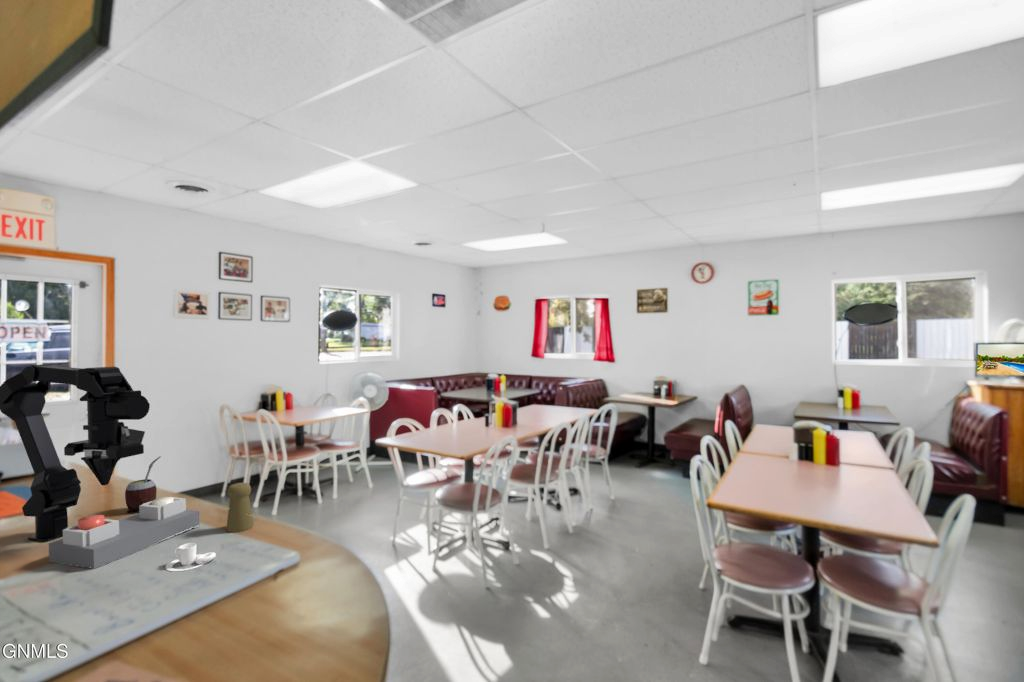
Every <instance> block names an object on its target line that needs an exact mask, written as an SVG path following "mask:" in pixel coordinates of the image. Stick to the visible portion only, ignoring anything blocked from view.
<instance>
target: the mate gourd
mask: <svg viewBox="0 0 1024 682" xmlns="http://www.w3.org/2000/svg"><path fill="white" fill-rule="evenodd" d="M160 458H161V455H160V456H158V457H157V458H155V459H154V460H153V461H152V462H151V463H150V464H149V466H148V469H147V472H146V474H145V478H144V479H138V480H137V479H136V480H133V481H132V482H129V483H128V484H127V485H126V487H125V490H124V491H125V492H124V496H125V497H124V498H125V499H124V500H125V504H126V507H127V511H126V512H127V514H130V513H135V512H139V506H140V505H142V504H144V503H147V502H150V501H153V500H155V499H157V493H158V492H157V491H158V490H157V485H156V483H155V482H154V480H152V479H151V478H149V477H150V476H149V475H150V473H151V470H152V468H153V466H154V464H155V463H156V462H157V461H158V460H159V459H160Z"/></svg>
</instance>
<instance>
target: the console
mask: <svg viewBox="0 0 1024 682" xmlns="http://www.w3.org/2000/svg"><path fill="white" fill-rule="evenodd" d="M172 497H173V498H174V502H171V503H168V504H165V505H162V506H155V505H152V501H150V502H147V503H144V504H142V505H140V506H139V511H138V513H135V514H131V515H128V516H126V517H123V518H120V519H110V518H104V524H105V525H102V526H99V527H96V528H93V529H90V530H87V531H85V530H78V523H77V524H75V525H71V526H68V528H67V529H64V530H63V536H62V538H59V539H56V540H53V541H49V542H48V562H51V563H58V564H62V563H64V564H63V565H68V564H72V565H71V566H74V565H78V566H77V567H79V566H83V567H82V568H85V567H89V568H88V569H91V568H95V569H97V567H98V568H100V567H102V565H103V566H105V565H107V563H108V564H110V563H113V562H115V561H117V559H118V560H120V559H123V558H125V557H127V556H131V555H133V554H136V553H137V552H140V551H142V550H145V549H147V547H148V546H150V545H153V544H155V543H157V542H159V541H161V540H163V539H165V538H167V537H169V536H172V535H175V534H176V533H179V532H181V531H184V530H186V529H189V528H191V527H195V526H197V525H199V526H200V510H195V509H187V501H186V500H187V499H186V498H185V497H178V496H177V497H176V496H175V497H174V496H172ZM155 545H156V544H155ZM153 546H154V545H153ZM150 547H151V546H150ZM148 548H149V547H148ZM112 561H113V562H112ZM109 562H110V563H109ZM99 566H100V567H99ZM90 567H91V568H90Z"/></svg>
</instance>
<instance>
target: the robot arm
mask: <svg viewBox="0 0 1024 682" xmlns="http://www.w3.org/2000/svg"><path fill="white" fill-rule="evenodd" d="M51 383H52V384H53V383H54V384H63V385H71V386H75V388H76V389H78V390H81V391H84V392H86V393H85V394H84V395H82V396H81V397H80V398H79V402H86V407H87V408H86V409H87V410H86V412H87V424H84V425H82V430H83V431H87V439H84V440H80V441H74V442H73V441H72V442H68V443H67V444H66V445H65V447H63V450H64V456H68V457H72V456H75V455H76V454H80V453H84V457H83V456H82V457H80V460H81V461H83V462H84V463H85V464H86V466H87V467H88V468H89V469H90V471H91V472H92V474H93V475H94V476H95V478H96V479H97V480H98V482H99V484H100V485H101V486H108V485H109V484H110V481H111V479H112V475H113V473H114V470H115V467H116V465H117V464H118V462H119V461H120V460H121V459H124V458H129V457H134V456H138V455H142V454H144V453H145V448H144V447H145V445H144V444H143V439H144V437H145V433H146V431H144V430H139V429H134V428H133V429H132V428H129V426H127V425H126V426H125V423H124V421H122V420H132V421H133V420H135V421H138V420H143V419H144V418H145V417H146V416H147V415H148V413H149V411H150V402H149V400H148V399H147V398H146V397H145V396H143V395H142V390H140V389H139V390H134V389H133V388H132V386H131V384H130V383H129V381H128V380H127V378H126V377H125V375H124V374H123V373H122V371H121V369H120V368H119V367H117V366H100V367H98V366H97V367H96V366H95V367H84V368H80V367H70V366H59V365H52V364H48V363H45V364H44V363H43V364H31V365H28V366H27V365H26V367H24V368H23V370H22V371H20V372H19V373H17V374H15V375H14V376H11V377H10V378H8V379H6V380H4V381H3V383H2V384H1V385H0V412H1V413H2V414H3V415H5V416H6V417H8V418H10V419H11V420H13V422H14V424H15V426H16V428H17V431H18V433H19V437H20V439H21V442H22V444H23V446H24V449H25V451H26V455H27V458H28V460H29V463H30V465H31V468H32V470H33V473H34V476H33V480H32V483H31V485H30V493H31V496H30V497H29V499H28V500H27V501H26V502H25V503H24V505H23V506H22V507H21V510H22V513H23V515H24V517H31V518H32V517H34V524H35V534H33V535H30V536H27V540H31V541H37V542H48V541H51V540H54V539H56V538H60V537H63V530H64V529H67V528H68V527H69V516H68V508H71V507H75V506H77V505H78V501H79V498H80V494H81V491H82V486H81V485H80V484H82V483H81V482H82V481H81V480H80V479H79V477H78V473H77V471H76V469H75V468H70V469H67V468H66V467H64V466H63V465H62V463H61V460H60V458H59V456H58V453H57V451H56V448H55V445H54V442H53V440H52V438H51V437H52V436H51V435H50V432H49V430H48V428H47V424H46V422H45V419H44V416H43V414H42V413H43V409H44V407H45V405H46V398H45V396H46V394H48V392H49V391H50V390H52V386H51ZM119 420H121V421H119Z"/></svg>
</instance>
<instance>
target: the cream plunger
mask: <svg viewBox="0 0 1024 682" xmlns="http://www.w3.org/2000/svg"><path fill="white" fill-rule="evenodd" d="M173 497H174V496H165V497H160V498H156V499H155V500H153V501H152V505H155V506H162V505H165V504H168V503H171V502H174V498H173Z"/></svg>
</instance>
